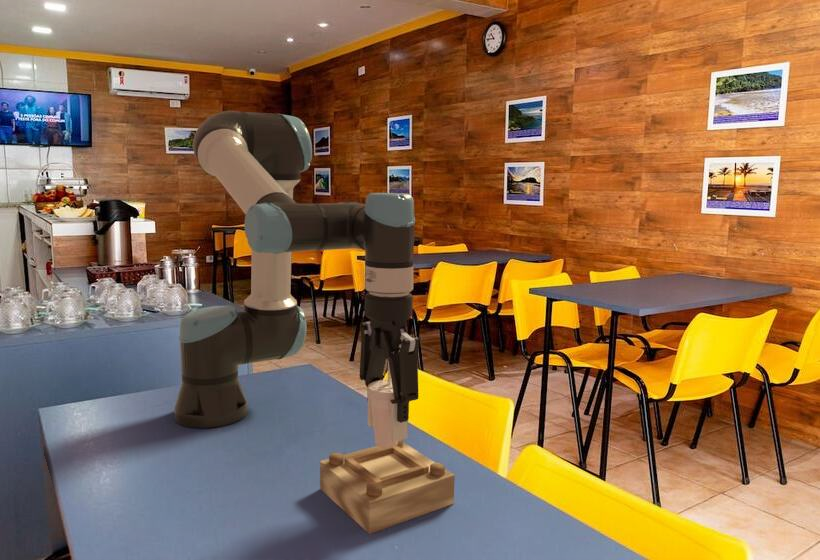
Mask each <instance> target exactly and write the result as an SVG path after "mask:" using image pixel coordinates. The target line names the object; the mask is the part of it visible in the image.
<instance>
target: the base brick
mask: <svg viewBox="0 0 820 560" xmlns="http://www.w3.org/2000/svg"><path fill="white" fill-rule="evenodd" d="M455 478H456V477H455V474H454V473H452V472H451V471H449V470H448V469H446V466H445V465H444V464H443V463H440V462H435V461H433V460H432V459H430V458H429V457H427V456H426V455H424V454H422V453H421V452H420V451H417V450H416V449H415V448H413V447H412V446H410V445H408V444H407V443H406V442H404V439H403V440H399V441H398V444H397V445H396V446H394V447H390V448H383V447H379V446H377V445H375V446H371V447H368V448H363V449H360V450H356V451H353V452H349V453H345V454H343V453H340V452H334V453H331V454H329V456H328V458H327V459H323V460H320V461H319V489H320V491H322V492H323V493H324V494H325V495H326V496H327V497H328V498H329V499H331V501H333V503H335V504H336V505H337V506H339V508H340V509H341V510H343V512H345V513H346V514H347V515H348V516H349V517H350V518H351V519H352V520H353V521H355V523H357V524H358V525H359V526H360V527H361V528H362V529H363V530H364V531H365V532H367V533H368V534H369V535H371V534H374V533H376V532H380V531H383V530H385V529H387V528H391V527H393V526H396V525H398V524H401V523H403V522H404V523H405V522H407V521H409V520H410V521H411V520H412V519H416V518H418V517H421V516H424V515H426V514H429V513H432V512H434V511H438V510H440V509H443V508H446V507H447V506H452V505H454V504H455V502H454V501H455V500H454V499H455Z"/></svg>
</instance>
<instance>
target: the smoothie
mask: <svg viewBox="0 0 820 560" xmlns="http://www.w3.org/2000/svg"><path fill="white" fill-rule="evenodd" d="M367 390H368V391H367V392H368V394H369V395H370V402H371V410H372V419H373V427H372V428H373V433H374V436H373V437H374V443H375V446H379V447H383V448H390V447H394V446H396V445H397V444H398V441H395V442H392V441H391V440H390V439H391V400H393V399H394V393H393V386H392V380H391V374H390V368H389V361H388V360H387V379H382V380H380V381H375V382H372V383H370V384H369V385H368V387H367Z"/></svg>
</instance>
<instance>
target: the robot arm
mask: <svg viewBox="0 0 820 560" xmlns="http://www.w3.org/2000/svg"><path fill="white" fill-rule="evenodd" d="M195 131H196V132H195V133H194V137H193V142H192V149H193V154H194V157H195V159H196V161H197V163H198V164H199V165H200V167H201V168H202V170H204V172H206V173H207V174H209V175H210V176H213V177H216V179H217V180H218V181H219V182H220V184H221V185H222V186H223V187H224V189H225V190H226V191H227V193H228V194H229V195H230V196H231V198H232V199H233V200H234V202H236V204H237V205H238V207H239V208H240V210H241V211H242V212H243V213H244V215H245V217H244V233H245V237H246V239H247V244H248V246H249V248H250V249H251V274H250V275H251V276H250V277H251V278H250V279H251V280H250V287H251V288H250V290H251V291H250V295H248V296H247V297H246V298H245V299H244V300H243V310H240V311H238V310H237V309H236V307H235V306H232V305H227V304H226V305H225V304H224V305H223V304H222V305H211V306H206V307H205V306H204V307H202V308H199V309H195V310H192V311H190V312H188V313H187V314H185V315H184V316H183V317H182V318H181V320H180V324H179V337H178V340H179V342H180V343H179V344H180V346H179V347H180V348H179V349H180V366H181V367H180V368H181V385H180V388H179V390H178V391H179V392H178V395H177V399H176V402H175V404H174V421H176V423H177V424H179V425H182V426H184V427H190V428H196V429H198V428H200V429H201V428H202V429H203V428H204V429H205V428H208V429H209V428H218V427H223V426H227V425H230V424H233V423H236V422H238V421H241V420H242V419H243V418H245V416H246V415H247V414H248V401H247V398H246V395H245V393H244V391H243V387H242V385H241V382H240V379H239V366H241V365H247V364H253V363H258V362H260V363H261V362H265V361H273V360H282V359H285V358H288V357H293V356H295V355H297V354H298V353H299V352H300V351H301V350H302V348H303V347H304V344H305V341H306V337H307V327H308V326H307V321H306V315H305V314H306V313H304V310H303V309H302V308H301V307H300V306H298V302H297V299H295V297H294V296H293V295H292V294H291V285H292V281H291V280H292V253H293V252H310V251H312V252H313V251H327V250H328V251H329V250H333V251H334V250H349V249H351V250H352V249H354V250H355V249H356V250H362V251H365V252H364V254H365V256H364V261H365V262H364V265H365V273H364V279H365V284H364V287H365V288H364V289H365V290H366V291H367V292H366V294H365V295H364V315H365V317H366V318H367V319H370V321H365V322H360V324H359V328H360V336H361V339H360V359H359V379H360V380H361V381H364V384H365V387H366V388H368V385H369V384H370V383H372V382H375V381H380V380H383V375H384V372H385V367H386V362H388V361H389V368H390V374H391V380H392V386H393V393H394V399H393V400H391V439H390V440H391V441H392V442H395V441H399V440H403V441H404V440H406V439H408V427H409V426H408V422H409V417H410V415H409V413H410V411H409V410H410V402H412V401H416V400H418V399H419V363H418V351H419V346H420V339H419V337H418V336H416V337H412V336H411V335H409V333H408V332H409V331H408V330H409V329H408V327H407V321H408V320H409V319H410V318H411V317H412V316H413V304H414V303H413V302H414V300H413V299H414V297H413V295H412V293H411V292H412V291H413V290H414V253H415V251H414V250H415V247H414V246H415V223H416V217H415V201H414V197H413V196H412V195H411V194H409V193H401V192H400V193H396V192H370V193H369V194H367V195H366V197H365V203H359V202H357V201H342V202H337V203H335V202H333V203H332V202H331V203H329V202H327V203H298V202H296V201H295V200H294V188H295V187H296V186H297V185H298V184H299V182H301V173H303V172H305V171H307V170H308V169H309V168H310V166H311V162H312V159H313V146H312V145H313V144H312V139H311V136H310V132H309V130H308V129H307V126H306V125H305V123H304V122H303V120H301V119H300V118H299V117H296V116H292V115H288V114H283V113H282V114H281V113H268V112H267V113H266V112H265V113H264V112H254V111H253V112H251V111H239V110H226V111H225V110H224V111H220V112H218V113H215V114H213V115H211V116H209V117H208V118H206V119H205V120H204V121H203V122H202V123H201V124H200V125H199V126H198V128H197V129H196V130H195ZM367 391H368V389H367ZM366 396H367V400H366V401H367V427H369V428H371V427H372V428H374V427H373V419H372V410H371V402H370V395H369V394H368V392H367V395H366Z"/></svg>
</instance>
